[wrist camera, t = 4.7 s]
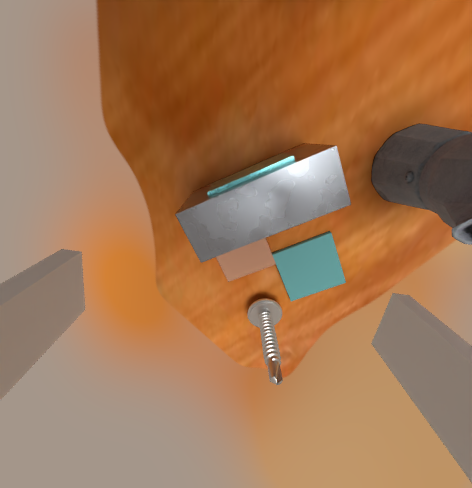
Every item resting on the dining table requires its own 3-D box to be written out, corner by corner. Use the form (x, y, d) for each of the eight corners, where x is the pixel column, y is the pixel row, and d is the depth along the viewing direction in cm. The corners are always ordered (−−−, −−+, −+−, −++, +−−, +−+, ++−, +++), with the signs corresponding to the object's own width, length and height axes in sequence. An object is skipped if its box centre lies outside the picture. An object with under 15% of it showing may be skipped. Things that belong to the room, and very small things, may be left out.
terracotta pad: (207, 236, 33) (206, 238, 32) (256, 216, 32) (257, 218, 31) (228, 279, 35) (228, 281, 35) (275, 262, 34) (276, 264, 34)
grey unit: (191, 188, 30) (172, 210, 21) (302, 139, 28) (335, 140, 19) (210, 227, 32) (200, 262, 23) (315, 184, 30) (351, 204, 21)
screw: (281, 315, 38) (250, 320, 38) (277, 288, 36) (244, 294, 36) (303, 397, 26) (256, 403, 26) (298, 363, 24) (248, 370, 24)
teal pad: (271, 252, 34) (272, 254, 33) (329, 231, 33) (331, 232, 32) (290, 298, 37) (291, 301, 36) (344, 280, 35) (345, 282, 35)
